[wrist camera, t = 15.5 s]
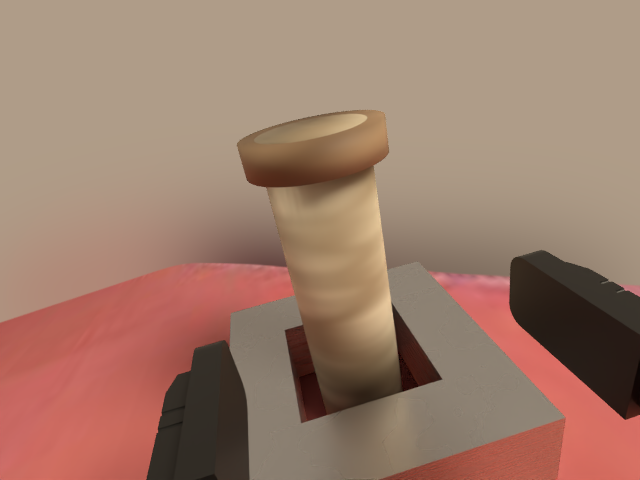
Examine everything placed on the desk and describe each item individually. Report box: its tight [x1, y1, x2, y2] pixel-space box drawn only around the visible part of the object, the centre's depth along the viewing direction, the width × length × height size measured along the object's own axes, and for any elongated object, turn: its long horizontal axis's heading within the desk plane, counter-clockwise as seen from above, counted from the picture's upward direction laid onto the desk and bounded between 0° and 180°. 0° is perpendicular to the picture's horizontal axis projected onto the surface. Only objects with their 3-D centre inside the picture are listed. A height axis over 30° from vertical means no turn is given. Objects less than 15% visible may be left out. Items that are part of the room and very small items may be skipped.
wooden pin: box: [237, 110, 403, 415], centre depth 16 cm, size 5×5×14 cm
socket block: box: [230, 261, 565, 480], centre depth 19 cm, size 12×12×4 cm
